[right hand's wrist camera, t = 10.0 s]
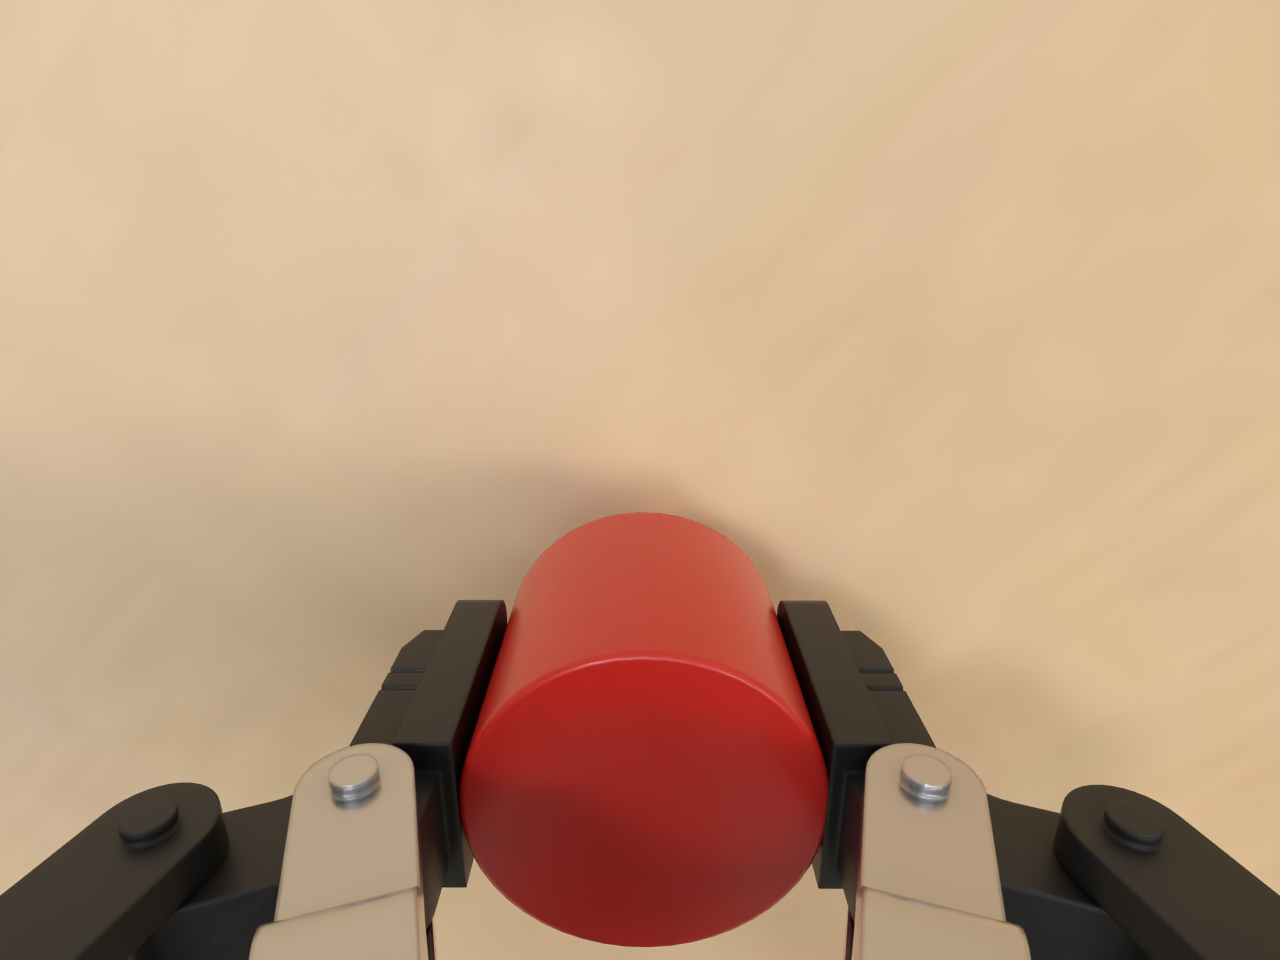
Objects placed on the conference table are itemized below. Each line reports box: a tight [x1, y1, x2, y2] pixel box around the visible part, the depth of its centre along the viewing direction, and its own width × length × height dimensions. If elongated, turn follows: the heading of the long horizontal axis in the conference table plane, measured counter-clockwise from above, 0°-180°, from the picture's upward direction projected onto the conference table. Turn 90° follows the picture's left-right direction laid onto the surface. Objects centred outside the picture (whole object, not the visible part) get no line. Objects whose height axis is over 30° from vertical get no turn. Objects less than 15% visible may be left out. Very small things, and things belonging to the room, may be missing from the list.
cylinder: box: [459, 513, 828, 947], centre depth 11 cm, size 4×4×4 cm
